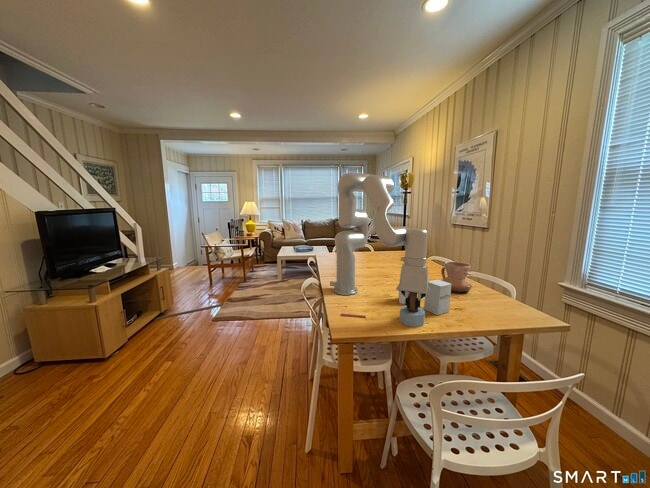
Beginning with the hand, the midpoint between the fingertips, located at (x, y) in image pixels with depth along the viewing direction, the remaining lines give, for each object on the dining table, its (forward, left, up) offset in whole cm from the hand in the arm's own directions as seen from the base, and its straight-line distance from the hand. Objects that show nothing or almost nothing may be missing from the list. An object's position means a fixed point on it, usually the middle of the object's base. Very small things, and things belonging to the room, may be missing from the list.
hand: (412, 307), depth 98 cm
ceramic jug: (+15, +49, -6) cm, 52 cm away
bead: (0, 0, -6) cm, 6 cm away
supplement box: (+8, +15, -6) cm, 18 cm away
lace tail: (-22, -6, -6) cm, 23 cm away
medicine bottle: (-5, +20, -6) cm, 21 cm away
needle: (0, 0, -4) cm, 4 cm away
